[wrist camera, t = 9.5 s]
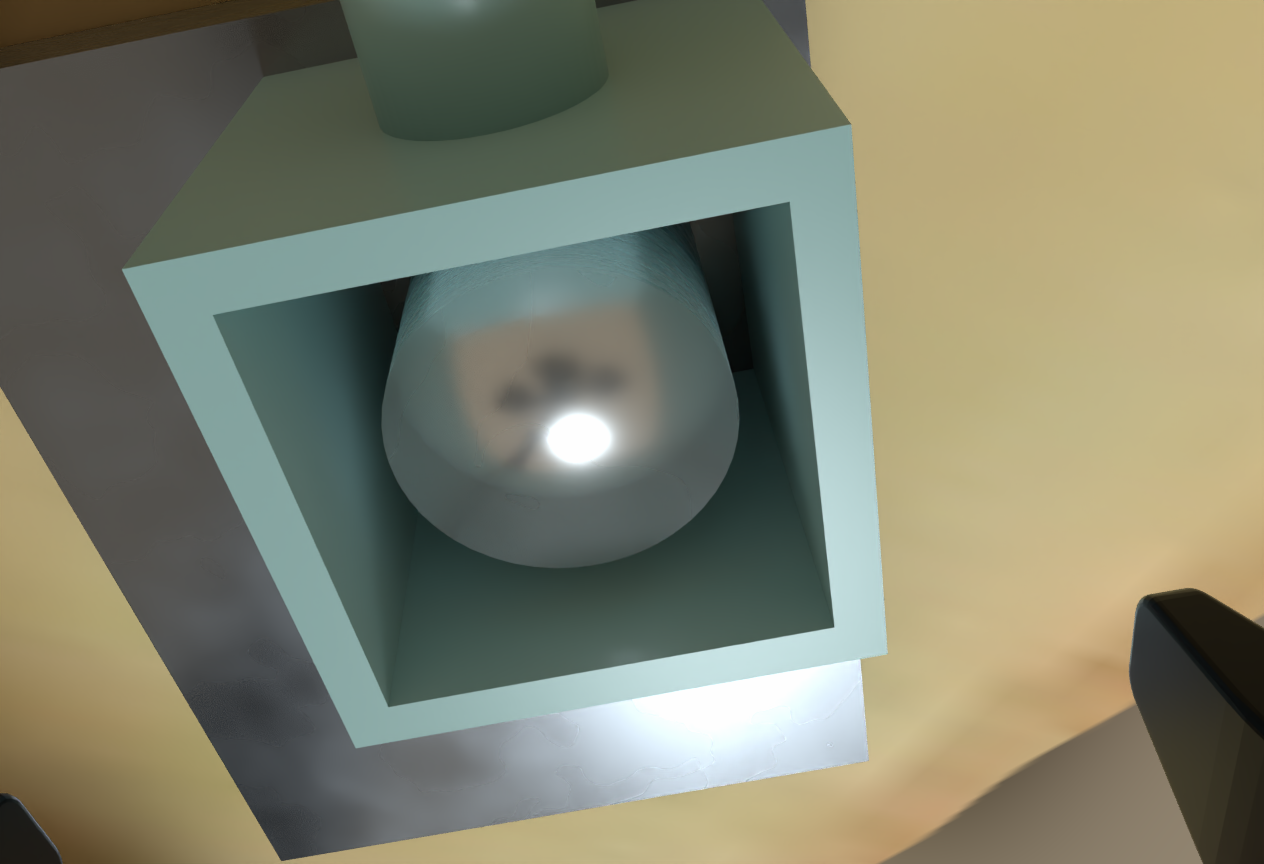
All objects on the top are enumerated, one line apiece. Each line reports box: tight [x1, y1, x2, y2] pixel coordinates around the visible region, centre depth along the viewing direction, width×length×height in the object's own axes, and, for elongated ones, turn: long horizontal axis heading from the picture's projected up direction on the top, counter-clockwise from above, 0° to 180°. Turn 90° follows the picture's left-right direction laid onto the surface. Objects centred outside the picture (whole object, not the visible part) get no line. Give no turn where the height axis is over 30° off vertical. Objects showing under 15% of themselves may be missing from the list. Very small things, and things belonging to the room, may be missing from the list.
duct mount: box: [0, 0, 869, 861], centre depth 18 cm, size 17×13×6 cm
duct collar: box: [122, 0, 888, 748], centre depth 13 cm, size 7×10×6 cm
